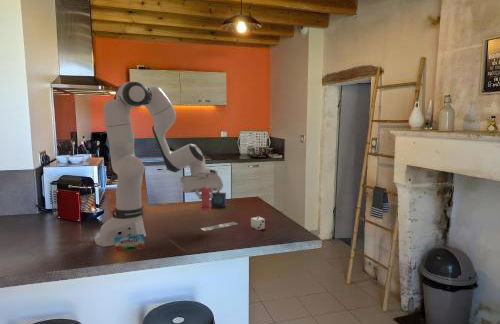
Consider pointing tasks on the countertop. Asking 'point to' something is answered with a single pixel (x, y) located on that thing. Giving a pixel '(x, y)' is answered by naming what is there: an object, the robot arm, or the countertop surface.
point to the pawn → (205, 199)
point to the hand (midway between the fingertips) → (206, 198)
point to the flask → (218, 199)
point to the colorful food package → (129, 242)
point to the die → (258, 223)
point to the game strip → (218, 226)
